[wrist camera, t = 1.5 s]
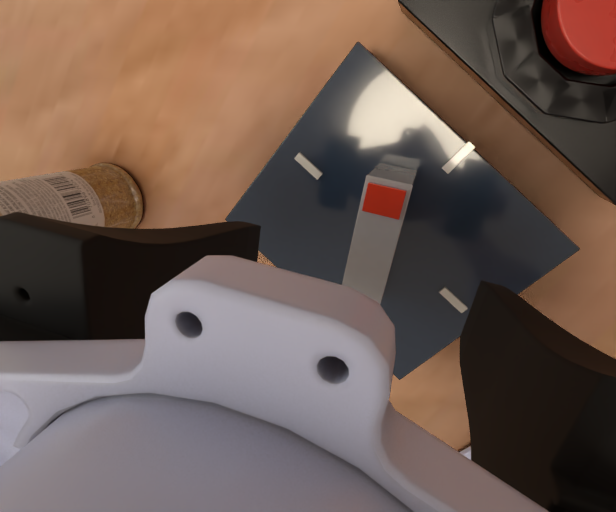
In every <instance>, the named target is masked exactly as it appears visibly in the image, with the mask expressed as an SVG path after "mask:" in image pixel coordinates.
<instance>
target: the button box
mask: <svg viewBox="0 0 616 512" xmlns="http://www.w3.org/2000/svg"><path fill="white" fill-rule="evenodd" d="M398 2H399V5H400V8H401V11H402V12H403V13H404V14H405V15H406V16H407V17H408V18H409V19H410V20H411V21H412V22H413V23H415V24H416V25H417V26H418V27H419V28H420V29H421V30H422V31H423V32H424V33H425V34H426V35H427V36H428V37H429V38H431V39H432V40H433V41H434V42H435V43H436V44H437V45H438V46H439V47H440V48H441V49H442V50H443V51H444V52H445V53H447V54H448V55H449V56H450V57H451V58H452V59H453V60H454V61H455V62H456V63H457V64H458V65H459V66H460V67H461V68H463V69H464V70H465V71H466V72H467V73H468V74H469V75H470V76H471V77H472V78H473V79H474V80H475V81H476V82H477V83H479V84H480V85H481V86H482V87H483V88H484V89H485V90H486V91H487V92H488V93H489V94H490V95H491V96H492V97H493V98H495V99H496V100H497V101H498V102H499V103H500V104H501V105H502V106H503V107H504V108H505V109H506V110H507V111H508V112H509V113H511V114H512V115H513V116H514V117H515V118H516V119H517V120H518V121H519V122H520V123H521V124H522V125H523V126H524V127H525V128H527V129H528V130H529V131H530V132H531V133H532V134H533V135H534V136H535V137H536V138H537V139H538V140H539V141H540V142H541V143H543V144H544V145H545V146H546V147H547V148H548V149H549V150H550V151H551V152H552V153H553V154H554V155H555V156H556V157H557V158H559V159H560V160H561V161H562V162H563V163H564V164H565V165H566V166H567V167H568V168H569V169H570V170H571V171H572V172H573V173H575V174H576V175H577V176H578V177H579V178H580V179H581V180H582V181H583V182H584V183H585V184H586V185H587V186H588V187H589V188H591V189H592V190H593V191H594V192H595V193H596V194H597V195H598V196H599V197H601V198H603V199H605V200H607V201H608V202H610V203H612V204H614V205H616V74H612V75H602V76H596V75H587V74H582V73H578V72H576V71H573V70H571V69H569V68H567V67H566V66H564V65H563V64H561V63H560V62H559V61H558V60H557V59H556V58H555V57H554V56H553V55H552V53H551V52H550V50H549V49H548V47H547V45H546V43H545V40H544V37H543V33H542V27H541V10H542V4H543V0H398Z"/></svg>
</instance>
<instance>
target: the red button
mask: <svg viewBox="0 0 616 512" xmlns="http://www.w3.org/2000/svg"><path fill="white" fill-rule="evenodd" d="M541 27H542V33H543V37H544V40H545V43H546V45H547V47H548V49H549V50H550V52H551V53H552V55H553V56H554V57H555V58H556V59H557V60H558V61H559V62H560V63H561V64H563V65H564V66H566V67H567V68H569V69H571V70H573V71H576V72H578V73H582V74H587V75H596V76H602V75H612V74H616V0H543V4H542V10H541Z"/></svg>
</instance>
